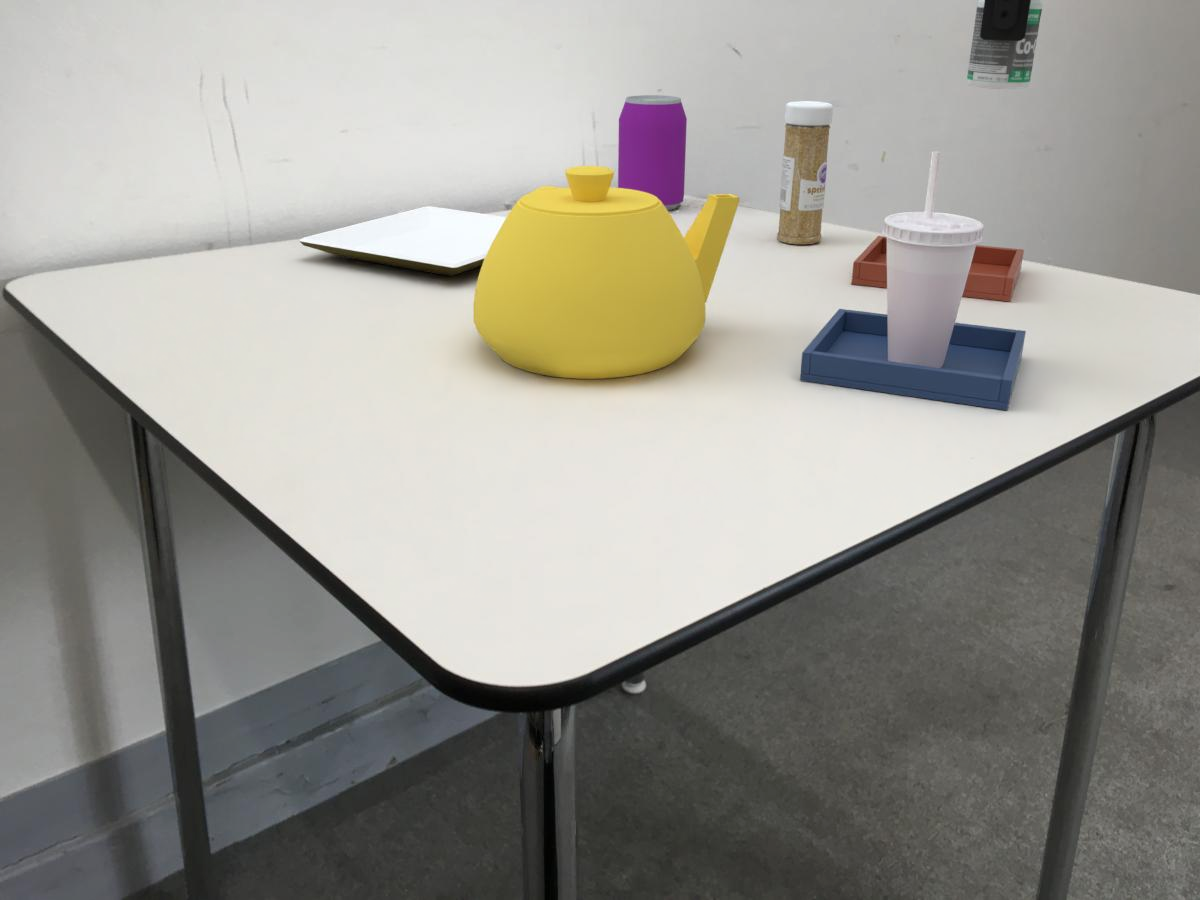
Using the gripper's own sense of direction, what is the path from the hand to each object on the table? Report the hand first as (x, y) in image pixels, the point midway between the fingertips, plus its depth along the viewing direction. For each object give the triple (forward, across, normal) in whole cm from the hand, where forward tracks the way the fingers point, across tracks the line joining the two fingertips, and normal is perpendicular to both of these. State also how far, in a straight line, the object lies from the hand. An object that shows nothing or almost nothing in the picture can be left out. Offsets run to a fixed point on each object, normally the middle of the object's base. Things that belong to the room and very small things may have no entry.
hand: (1005, 35), depth 84 cm
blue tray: (+21, -21, +1) cm, 30 cm away
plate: (+21, -6, +48) cm, 53 cm away
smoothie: (+20, -21, +1) cm, 29 cm away
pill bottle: (+4, 0, 0) cm, 4 cm away
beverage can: (+21, +24, +38) cm, 49 cm away
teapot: (+21, -24, +23) cm, 39 cm away
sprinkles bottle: (+21, +14, +18) cm, 31 cm away
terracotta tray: (+21, +5, +3) cm, 21 cm away
